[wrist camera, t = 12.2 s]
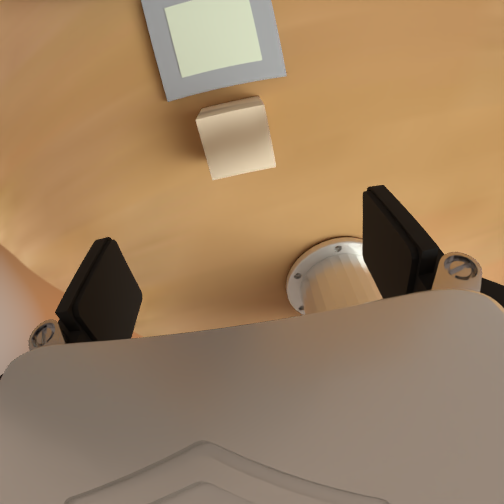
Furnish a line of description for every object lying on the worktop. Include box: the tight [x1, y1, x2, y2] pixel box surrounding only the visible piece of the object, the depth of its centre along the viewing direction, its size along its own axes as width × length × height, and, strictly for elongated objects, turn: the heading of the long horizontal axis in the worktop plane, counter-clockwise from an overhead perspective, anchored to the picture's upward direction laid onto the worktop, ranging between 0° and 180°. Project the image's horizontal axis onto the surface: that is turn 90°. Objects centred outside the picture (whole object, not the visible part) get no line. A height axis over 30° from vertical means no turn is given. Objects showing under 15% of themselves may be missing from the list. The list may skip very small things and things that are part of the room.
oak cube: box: [196, 96, 276, 180], centre depth 24 cm, size 5×5×5 cm
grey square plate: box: [141, 0, 287, 102], centre depth 20 cm, size 10×10×1 cm
